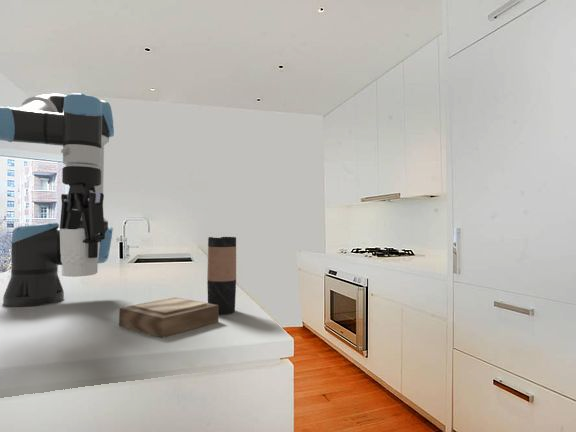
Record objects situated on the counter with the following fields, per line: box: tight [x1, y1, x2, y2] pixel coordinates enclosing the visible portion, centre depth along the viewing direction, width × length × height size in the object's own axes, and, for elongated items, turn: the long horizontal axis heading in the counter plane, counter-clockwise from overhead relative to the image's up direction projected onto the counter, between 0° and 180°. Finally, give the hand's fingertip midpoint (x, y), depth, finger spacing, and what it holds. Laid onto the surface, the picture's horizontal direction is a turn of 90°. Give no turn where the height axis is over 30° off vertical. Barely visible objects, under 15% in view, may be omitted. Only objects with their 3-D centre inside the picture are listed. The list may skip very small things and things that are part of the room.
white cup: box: [59, 228, 100, 278], centre depth 84 cm, size 8×8×10 cm
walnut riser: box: [118, 297, 220, 338], centre depth 91 cm, size 16×16×4 cm
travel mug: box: [206, 236, 237, 316], centre depth 104 cm, size 8×8×20 cm
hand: (80, 271), depth 84 cm, fingers closed on white cup, 7 cm apart
